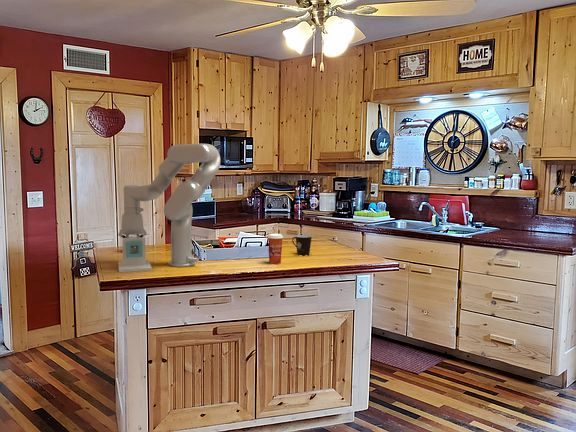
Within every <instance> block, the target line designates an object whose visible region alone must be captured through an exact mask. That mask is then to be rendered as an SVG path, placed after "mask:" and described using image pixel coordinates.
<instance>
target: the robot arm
mask: <svg viewBox="0 0 576 432" xmlns="http://www.w3.org/2000/svg"><path fill="white" fill-rule="evenodd" d="M166 155H167V157H166V158H165V159H164V160H163V161H162V162H161V163H160V164H159V166H158V174H157V175H156V177H155V178H154V180H152V181H151V183H150V184H145V185H136V184H129V185H124V186H123V213H122V215H121V227H120V228H121V229H120V231H119V232H118V234H117V235H118V236H119V237H120V238H121V239H122V238H129V237H130V236H133V235H137V238H140V237H145V236H147V235H148V233H147V231H146V229H145V228H144V219H143V213H141V212H143V211H144V208H141V202H149V201H155V200H156V199H158V198H159V197H160V196H161V195H162V194H163V193H164V192H165V191H166V190H167V189H168V187H169V186H170V184H171V182H172V181H173V179H174V178H175V176H177V174H179V172H180V171H181V170H182V169H183V168H184V167H185V166H186V164H197V163H201V164H200V166H198V168H197V169H196V170H195V172H194V173H193V174H192V176H191V177H190V178H189V180H185V181H182V182H181V183H179V184H178V185H177V187H176V188H175V189H174V191H173V192H172V194H171V196H170V197H169V198H168V199H167V201H166V202H165V205H164V207H163V215H164V216H165V217H166V219H167V220H169V221H171V223H170V224H171V225H170V256H171V257H170V260H169V261H167V265H168V266H170V267H175V268H176V267H177V268H181V267H182V268H183V267H191V266H194V265H195V263H199V260H200V258H199V257H195V256H194V254H192V224H193V223H192V220H193V210H194V209H193V205H192V204H193V202H194V201H197V200H199V199H201V197H202V196H203V194H204V193H205V191H206V190H207V188H208V187H209V186H210V184H211V182H212V181H213V179H214V178H215V177H216V175H217V174H218V172H219V170H220V166H221V156H220V155H221V154H220V152H219V150H218V149H217V148H216V147H215V146H214V145H212V144H209V143H188V144H174V145H171V146H170V147H169V149H168V150H167V154H166ZM139 235H140V236H139Z"/></svg>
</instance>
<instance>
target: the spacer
mask: <svg viewBox="0 0 576 432" xmlns="http://www.w3.org/2000/svg"><path fill="white" fill-rule="evenodd" d="M130 246H138V253H130ZM126 257H127V258H128V257H142V241H131V242H126Z"/></svg>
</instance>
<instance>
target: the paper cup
mask: <svg viewBox="0 0 576 432" xmlns="http://www.w3.org/2000/svg"><path fill="white" fill-rule="evenodd" d="M283 239H284V236H283V234H282V233H269V234H268V236H267V242H268V243H267V245H268V261H269V262H268V263H269V264H273V265H278V264H281V262H282V252H283V251H282V250H283Z"/></svg>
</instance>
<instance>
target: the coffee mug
mask: <svg viewBox="0 0 576 432" xmlns="http://www.w3.org/2000/svg"><path fill="white" fill-rule="evenodd" d="M312 237H313V236H312V235H309V234H297V235H295V236H294V237H292V239H291V243H293V245H294V246H295V247H296V254H298V255H297V256H299V255H303V256H302V257H306V256H305V255H308V256H310V252H311V246H312V245H311V244H312ZM294 239H295V242H294ZM295 243H296V244H295Z"/></svg>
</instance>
